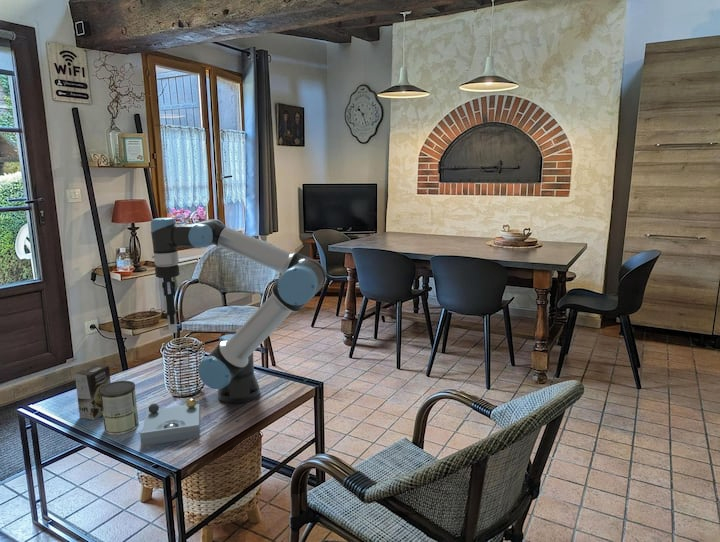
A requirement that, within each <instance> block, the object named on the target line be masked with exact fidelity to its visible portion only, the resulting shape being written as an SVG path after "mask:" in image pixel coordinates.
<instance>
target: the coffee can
mask: <svg viewBox="0 0 720 542" xmlns="http://www.w3.org/2000/svg"><path fill="white" fill-rule="evenodd" d="M100 394H101V402H102V410H103V415H102V417H103V418H102V419H103V426H104V432H105V433H106V434H107V435H109V436H119V435H120V436H121V435H124V434H128V433H130V432H132V431H134V430H135V429H138V427H139V417H138V416H139V415H138V406H137V396H136V395H137V394H136V383H135V382H133V381H130V380H118V381H113V382H111V383H109V384H107V385H105V386H103V387H102V388H101V389H100Z"/></svg>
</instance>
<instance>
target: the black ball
mask: <svg viewBox="0 0 720 542" xmlns="http://www.w3.org/2000/svg"><path fill="white" fill-rule="evenodd" d="M159 409H160V407H159V405H158V403H151V404H149V407H148V410H149V412H150V413H156V412H157V411H158V410H159Z"/></svg>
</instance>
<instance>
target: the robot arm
mask: <svg viewBox="0 0 720 542" xmlns="http://www.w3.org/2000/svg"><path fill="white" fill-rule="evenodd" d="M150 229H151V230H150V234H151V239H152V240H151V241H152V242H151V243H152V251H153V255H151V258H152V259H153V261H154V265H155V267H154V270H155V271H154V273H155V277H156V278H159V279H164V280H163V281H162V282H161V285H162V288H163V294H164V297H165V301H166V313H164V314H165V315H164V316H167V326H168V334H176V333H178V324H177V314H176V313H178V309H176V306H175V295H176V292H175V291H176V290H175V289H176V283H175V280H173V279H172V278H176V277H179V275H180V265H179V264H178V263H179V252H178V248H197V249H200V248H208V247H210V245H211V244H212V245H214V246H216V247H219V248H222V249H224V250H226V251H228V252H231V253H234V254H236V255H237V256H238V255H239V256H240V257H243V258H245V259H248V260H250V261H253V262H255V263H256V264H257V263H258V264H260V265H261V266H265V267H267V268H270V269H272V270H274V271H276V272H278V273H281V275H280V277H279V278H278V280H277V281H276V282H275V283H274V285H273V286H272V287H271V293H272V294H271V295H270V296H269V297H268V298H267V299H266V300H265V301H264V302H263V303H262V304H261V306H259V308H258V309H257V310H256V311H255V312H254V313H253V314H251V316H250V317H249V318H248V319H247V321H245V322H244V323H243V325H241V327H240V328H238V329H237V331H236V332H235V333H231V334H224V335H222V336H220V337H219V342H218V343H219V344H217V345H216V346H215V348H214V349H213V350H212V351H211V352H210V353H209V354H208V355H207V356H205V357H204V358H203V359H202V360H201V361H200V362H199V364H198V369H197V371H198V376H199V378H200V380H201V382H202V383H203V385H205V386H206V387H208V388H210V389H215V390H217V399H218V400H219V401H221V402H223V403H226V404H232V405H233V404H245V403H248V402H250V401H252V400H255V399H256V398H258V397H259V395H260V394H261V393H260V391H261V390H260V385H259V381H258V380H257V378H256V375H255V371H254V370H255V365H254V352H255V351H256V350H257V349H258V347H260V346H261V344H263V342H265V341H266V339H267V338H268V337H269V336H270V335H271V334H273V332H274V331H275V330H276V329H277V328H278V327H279V326H280V325H281V324H282V323H283V322H284V321H285V320H286V319H287V318H288V316H290V314H291V313H298V312H300V310H302V309H303V308H304V307H305V305H307V304H308V303H309V302H310V301H312V299H313V298H314V297H315V295H317V294H318V292H320V291H321V290H322V289H323V287H324V286H325V284H326V280H327V275H326V270H325V268H324V266H323V265H322V264H321V263H320V262H319V261H317V260H316V259H314V258H311V257H309V256H306V255H304V254H301V253H299V252H293V253H291V252H289V251H286V250H284V249H281V248H279V247H278V246H277V247H276V246H275V245H272V244H270V243H267V242H265V241H263V240H261V239H260V240H259V239H257V238H255V237H252V236H250V235H248V234H245V233H243V232H241V231H238V230H236V229H234V228H231V227H228V226H226V225H225V224H224V223H223V222H222V220H219V219H217V218H215V219H213V218H212V219H211V218H210V219H207V220H203V221H200V222H195V223H187V224H184V223H182V224H181V223H180V224H178V223H176V221H175V218H173V217H158V218H153V219H151V221H150Z"/></svg>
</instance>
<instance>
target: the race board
mask: <svg viewBox="0 0 720 542" xmlns="http://www.w3.org/2000/svg"><path fill="white" fill-rule="evenodd" d="M200 406H201V405H200V403H196V406H195V407H194V408H188V407H187V405H180V406H179V405H178V406H172V407H164V408H159V410H158V411H157V412H156V413H150V412H149V409H148V410H146V414H145V418H144V422H143V426H142V431H140V432H139V435H140V446H141V447H144V446H151V445H157V444H158V445H159V444H164V443H172V442H173V443H174V442H179V441H184V440H191V439H198V438H200V436H201V434H200V433H201V432H200V429H201V428H200V426H201V423H200V422H201V415H200V414H201V413H200V412H201V411H200V409H201V408H200ZM170 424H174V425H176V427H172V428H167V426H168V425H170Z"/></svg>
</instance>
